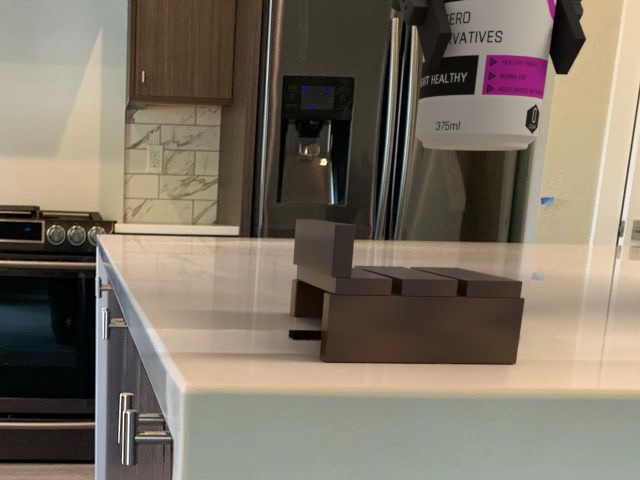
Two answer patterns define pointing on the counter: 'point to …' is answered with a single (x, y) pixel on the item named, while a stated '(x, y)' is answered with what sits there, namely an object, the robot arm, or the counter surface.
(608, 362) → the counter surface
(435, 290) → the rack
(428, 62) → the robot arm
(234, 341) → the counter surface
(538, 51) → the supplement can
